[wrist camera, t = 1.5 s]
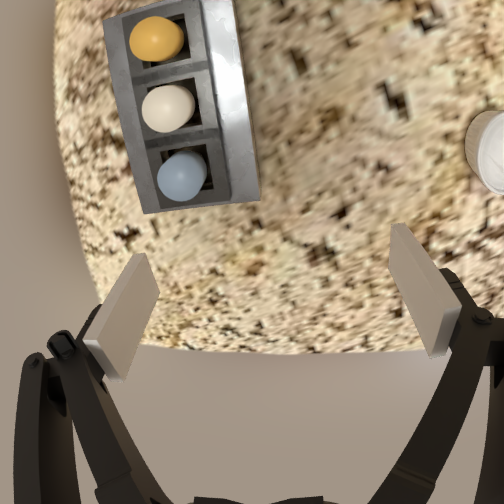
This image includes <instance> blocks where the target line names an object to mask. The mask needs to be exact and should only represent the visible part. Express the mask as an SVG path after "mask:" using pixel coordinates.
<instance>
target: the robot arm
mask: <svg viewBox="0 0 504 504" xmlns="http://www.w3.org/2000/svg"><path fill="white" fill-rule="evenodd" d="M388 269H389V271H390V273H391V275H392V277H393V279H394V281H395V283H396V285H397V287H398V289H399V291H400V293H401V295H402V297H403V300H404V302H405V304H406V306H407V308H408V310H409V312H410V315H411V317H412V319H413V321H414V323H415V326H416V328H417V330H418V332H419V335H420V337H421V339H422V342H423V344H424V346H425V349H426V351H427V353H428V356H429V358H430V359H431V358H435V357H440V356H444V355H445V354H446V352H447V349H448V347H450V349H451V351H452V354H451V357H450V359H449V362H448V364H447V367H446V369H445V371H444V373H443V376H442V378H441V380H440V382H439V384H438V387H437V389H436V391H435V393H434V395H433V397H432V400H431V401H430V403H429V405H428V407H427V409H426V411H425V413H424V415H423V417H422V419H421V421H420V423H419V424H418V426H417V428H416V430H415V432H414V434H413V435H412V437H411V439H410V441H409V442H408V444H407V446H406V447H405V449H404V451H403V452H402V454H401V456H400V457H399V459H398V461H397V462H396V464H395V465H394V467H393V468H392V470H391V471H390V473H389V474H388V476H387V477H386V479H385V480H384V482H383V483H382V485H381V486H380V487H379V489H378V490H377V492H376V493H375V494H374V496H373V497H372V499H371V500H370V501H369V503H368V504H426V503H427V501H428V500H429V498H430V496H431V494H432V492H433V491H434V488H435V482H436V480H437V478H438V476H439V474H440V472H441V470H442V468H443V466H444V464H445V462H446V460H447V458H448V456H449V454H450V452H451V450H452V448H453V446H454V444H455V441H456V439H457V437H458V435H459V432H460V430H461V427H462V425H463V423H464V420H465V418H466V415H467V413H468V410H469V408H470V405H471V402H472V400H473V397H474V394H475V391H476V388H477V385H478V382H479V379H480V376H481V373H482V370H483V366H490V397H489V412H488V423H487V433H486V441H485V449H484V455H483V461H482V468H481V473H480V478H479V483H478V488H477V492H476V496H475V501H474V504H504V318H494V316H493V314H492V313H491V312H490V311H489V310H487V309H485V308H481V307H478V306H477V305H476V303H475V302H474V300H473V299H472V297H471V296H470V294H469V293H468V291H467V290H466V288H464V286H463V284H462V283H461V282H460V280H459V278H458V277H457V276H456V274H455V273H453V272H452V271H451V270H449V269H448V268H442V269H438V268H437V267H436V265H435V264H434V262H433V261H432V259H431V258H430V257H429V255H428V254H427V252H426V251H425V250H424V248H423V247H422V245H421V244H420V243H419V241H418V240H417V239H416V237H415V236H414V235H413V233H412V232H411V231H410V229H409V228H408V227H407V225H406V224H405V223H398V224H391V238H390V253H389V266H388ZM159 294H160V291H159V288H158V286H157V283H156V280H155V278H154V275H153V273H152V270H151V267H150V265H149V262H148V259H147V256H146V254H145V253H140V254H133V255H132V257H131V259H130V260H129V262H128V263H127V265H126V266H125V268H124V270H123V271H122V273H121V274H120V276H119V278H118V279H117V281H116V282H115V284H114V286H113V287H112V289H111V291H110V292H109V294H108V296H107V297H106V299H105V301H104V302H103V304H99V305H98V306H97V307H96V308H95V309H94V310H93V311H92V312H91V314H90V315H89V317H88V320H86V322H85V325H84V326H83V328H82V329H81V331H80V333H79V334H78V336H77V338H76V340H74V338H73V336H72V335H71V333H70V332H69V331H67V330H61V331H59V332H56V333H55V334H54V335H52V336H51V337H50V339H49V340H48V342H47V348H48V349H49V351H50V352H51V354H52V355H53V356H54V358H50V359H45V357H44V356H43V355H42V353H39V352H37V353H33V354H31V355H30V356H28V357H27V358H26V360H25V361H24V364H23V367H22V373H21V380H20V387H19V394H18V402H17V412H16V423H15V436H14V464H13V465H14V466H13V470H14V471H13V475H14V477H13V478H14V504H81V499H80V493H79V487H78V479H77V471H76V464H75V453H74V441H73V426H72V420H73V423H74V426H75V429H76V432H77V435H78V438H79V441H80V443H81V446H82V448H83V451H84V454H85V457H86V459H87V462H88V464H89V466H90V469H91V471H92V474H93V476H94V478H95V481H96V483H97V486H98V488H97V489H95V495H96V499H97V501H98V503H99V504H173V503H172V502H171V500H169V498H168V497H167V496H166V495H165V493H164V492H163V491H162V489H161V487H160V486H159V485H158V483H157V481H156V480H155V478H154V476H153V475H152V473H151V471H150V470H149V468H148V466H147V465H146V463H145V461H144V460H143V458H142V456H141V454H140V453H139V451H138V449H137V447H136V446H135V444H134V442H133V440H132V438H131V436H130V434H129V432H128V430H127V429H126V427H125V425H124V423H123V421H122V419H121V417H120V415H119V413H118V410H117V408H116V406H115V404H114V402H113V400H112V398H111V396H110V394H109V391H108V389H107V387H106V385H105V383H104V382H103V380H102V378H103V376H104V374H106V376H107V377H108V379H109V380H110V381H113V382H124V381H125V379H126V376H127V373H128V371H129V368H130V366H131V363H132V360H133V358H134V355H135V353H136V350H137V348H138V345H139V343H140V340H141V338H142V335H143V333H144V330H145V328H146V325H147V323H148V320H149V318H150V316H151V313H152V311H153V308H154V306H155V304H156V301H157V299H158V297H159ZM189 504H242V503H239V502H235V501H231V500H227V499H221V498H206V497H194V502H193V503H189ZM272 504H337V503H332V502H327V501H323V496H318V497H317V496H316V497H305V498H291V499H287V500H284V501H279V502H276V503H272Z"/></svg>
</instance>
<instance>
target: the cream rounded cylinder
mask: <svg viewBox="0 0 504 504" xmlns="http://www.w3.org/2000/svg"><path fill="white" fill-rule="evenodd" d="M194 110H195V100H194V97H193V95H192V93H191V92H190V91H189V90H188V89H187V88H185V87H183V86H181V85H167V86H161V87H158V88H155V89H153V90H152V91H151V92H149V93H148V95H147V96H146V97H145V99H144V101H143V105H142V115H143V118H144V121H145V122H146V124H147V125H148V126H149V127H150V128H151V129H153V130H155V131H158V132H163V133H166V132H171V131H174V130H176V129H177V128H179V127H180V126H182V125H184V124H185V123H186V122H188V121H189V120H190V119H191V117H192V116H193V113H194Z"/></svg>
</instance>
